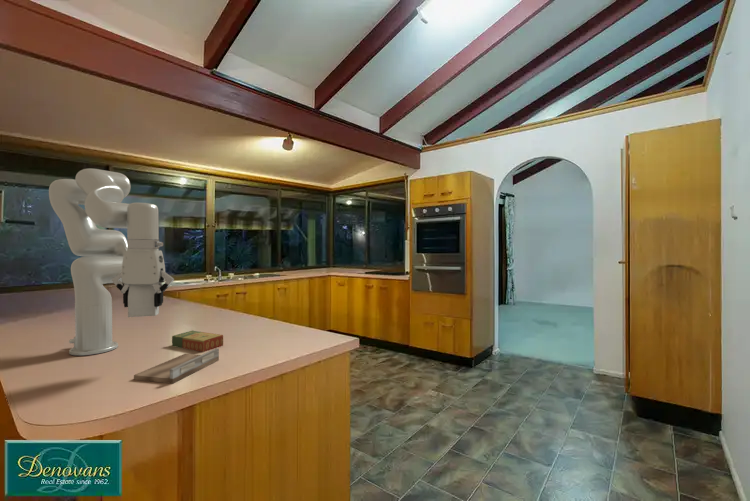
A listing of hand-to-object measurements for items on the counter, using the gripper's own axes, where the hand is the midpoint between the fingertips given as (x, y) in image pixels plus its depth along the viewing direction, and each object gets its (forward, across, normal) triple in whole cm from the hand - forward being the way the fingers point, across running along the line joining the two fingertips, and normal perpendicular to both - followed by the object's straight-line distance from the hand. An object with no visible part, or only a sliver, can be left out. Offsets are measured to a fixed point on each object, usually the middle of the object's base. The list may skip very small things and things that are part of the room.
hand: (143, 305), depth 99 cm
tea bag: (+3, 0, 0) cm, 3 cm away
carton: (+18, -8, -19) cm, 28 cm away
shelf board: (+18, -12, +4) cm, 21 cm away
